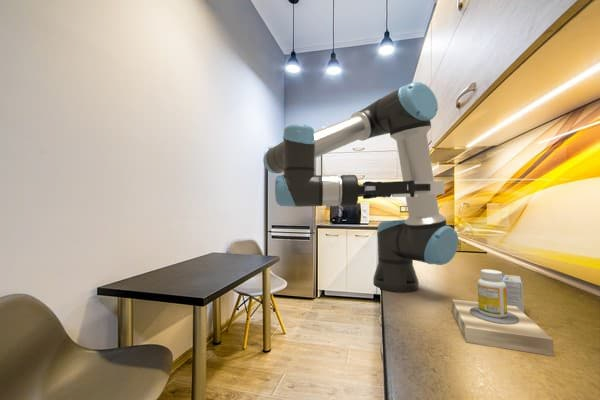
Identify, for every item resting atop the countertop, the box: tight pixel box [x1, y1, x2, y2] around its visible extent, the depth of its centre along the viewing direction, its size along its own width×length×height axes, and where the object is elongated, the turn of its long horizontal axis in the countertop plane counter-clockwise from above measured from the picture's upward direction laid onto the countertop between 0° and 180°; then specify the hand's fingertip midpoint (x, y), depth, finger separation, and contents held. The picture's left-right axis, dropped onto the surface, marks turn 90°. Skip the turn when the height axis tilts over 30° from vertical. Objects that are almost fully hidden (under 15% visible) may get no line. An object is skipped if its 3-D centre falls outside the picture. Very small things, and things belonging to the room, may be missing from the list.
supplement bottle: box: [477, 268, 507, 318], centre depth 61 cm, size 5×5×10 cm
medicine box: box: [501, 274, 525, 314], centre depth 72 cm, size 8×4×9 cm, turn 143°
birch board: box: [451, 299, 555, 357], centre depth 61 cm, size 18×14×3 cm
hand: (429, 189), depth 64 cm, fingers open, 13 cm apart
